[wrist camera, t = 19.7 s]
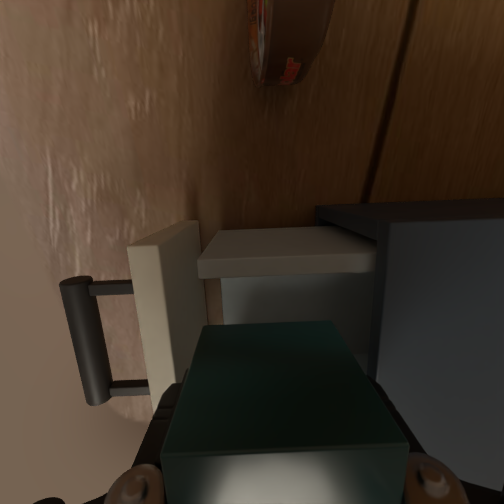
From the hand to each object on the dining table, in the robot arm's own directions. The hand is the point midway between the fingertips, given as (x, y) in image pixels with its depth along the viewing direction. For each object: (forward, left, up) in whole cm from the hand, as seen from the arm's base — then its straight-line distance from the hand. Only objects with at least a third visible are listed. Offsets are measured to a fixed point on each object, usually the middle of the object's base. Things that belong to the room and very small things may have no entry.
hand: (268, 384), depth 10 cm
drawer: (-1, 0, -8) cm, 9 cm away
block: (0, 0, 0) cm, 0 cm away
